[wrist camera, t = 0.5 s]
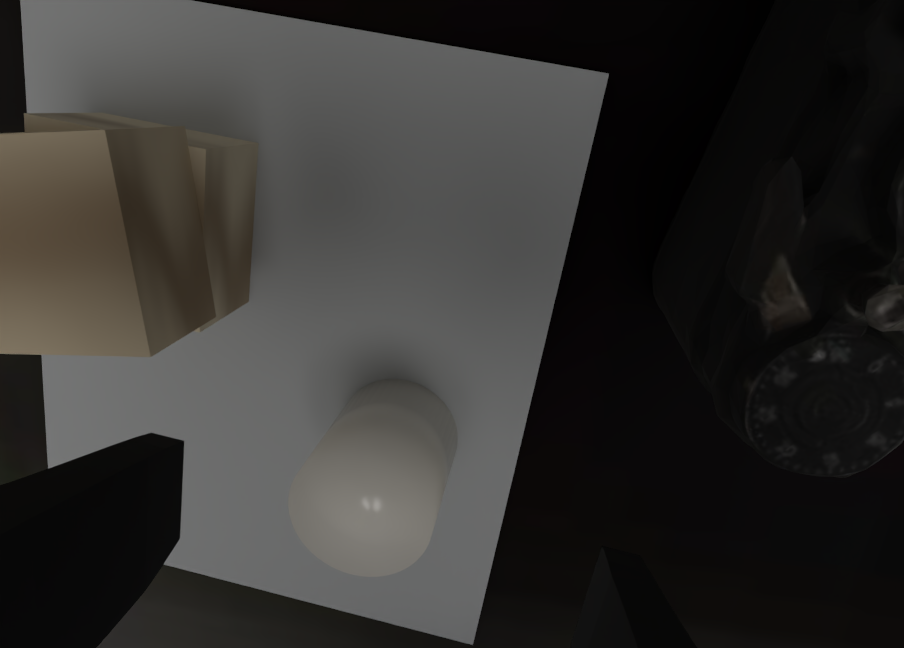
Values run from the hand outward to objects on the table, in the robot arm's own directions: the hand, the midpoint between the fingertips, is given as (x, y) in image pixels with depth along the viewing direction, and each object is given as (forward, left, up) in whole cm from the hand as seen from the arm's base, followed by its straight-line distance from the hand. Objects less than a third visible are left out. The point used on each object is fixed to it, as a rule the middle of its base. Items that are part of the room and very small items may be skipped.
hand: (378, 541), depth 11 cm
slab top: (+2, +10, -7) cm, 12 cm away
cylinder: (-4, +2, -10) cm, 11 cm away
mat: (-2, +6, -10) cm, 12 cm away
